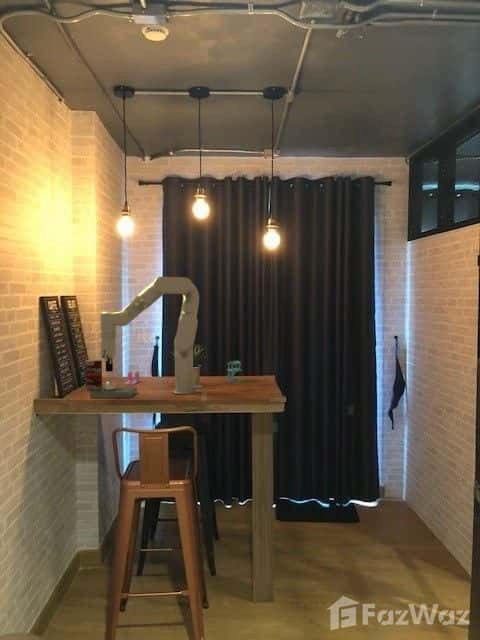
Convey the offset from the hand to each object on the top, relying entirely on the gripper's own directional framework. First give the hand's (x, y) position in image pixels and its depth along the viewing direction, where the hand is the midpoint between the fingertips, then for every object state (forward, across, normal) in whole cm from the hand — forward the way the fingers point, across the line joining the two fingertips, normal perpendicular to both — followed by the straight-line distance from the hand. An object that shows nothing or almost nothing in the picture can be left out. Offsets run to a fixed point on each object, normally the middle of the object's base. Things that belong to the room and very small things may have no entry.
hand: (109, 371), depth 264 cm
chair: (+12, -43, +60) cm, 75 cm away
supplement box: (+13, -17, -15) cm, 26 cm away
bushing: (+12, 0, 0) cm, 13 cm away
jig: (+12, 0, +2) cm, 13 cm away
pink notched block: (+13, -33, +1) cm, 36 cm away
